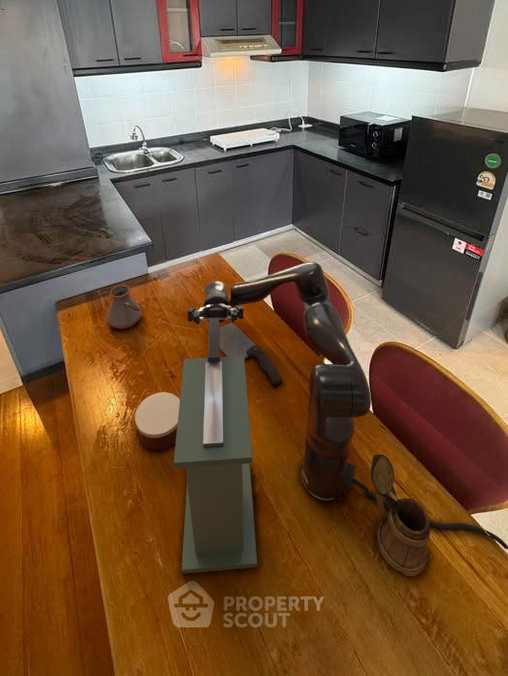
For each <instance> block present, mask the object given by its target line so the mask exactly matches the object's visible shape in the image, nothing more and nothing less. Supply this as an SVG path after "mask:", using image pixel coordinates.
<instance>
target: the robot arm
mask: <svg viewBox="0 0 508 676" xmlns="http://www.w3.org/2000/svg"><path fill="white" fill-rule="evenodd" d="M288 283H293V284H294V287H295V290H296V291H297V295H298V298H299V299H300V302H301V303H302V305H303V308H304V312H303V315H302V324H303V329H304V334H305V338H306V340H307V342H308V344H309V345H310V346H311V347H312V349H314V350H315V351H316V353H319V355H320V356H322V357H323V358H324V359H325V360H327V361H328V362H330V363H317V364H315V365H313V367H312V369H311V371H310V376H309V394H308V395H309V398H308V400H309V401H308V410H307V422H306V423H307V424H306V433H305V441H304V451H303V460H302V467H301V482H302V485H303V487H304V489H305V490H306V492H307V493H308V494H309V495H310V496H311V497H313V498H315V500H317V501H320V502H333V501H338V502H340V501H341V500H342V495H343V494H345V495H348V496H351V493H352V488H353V484H354V486H355V485H356V486H357V487H359V488H360V489H361V490H363V491H364V493H365V494H366V495H367V496H368V497H369V498H371V499H372V500H374V501H376V502H377V500H376V494H375V493H373V492H371V491H370V489H369V488H368V487H367V486H366V485H365V484H363V483H362V482H360V481H359V480H357V479H356V478H354V477H355V472H356V465H354V464H352V463H350V462H349V459H350V455H351V454H350V453H351V447H352V442H353V438H354V434H355V433H354V432H355V424H354V423H355V422H354V420H353V419H354V418H361V417H362V418H363V417H365V416H366V415H367V414H369V412H370V409H371V406H372V397H371V390H370V385H369V382H368V379H367V377H366V374H365V372H364V369H363V367H362V365H361V364H360V361H359V359H358V358H357V356H356V354H355V352H354V350H353V348H352V347H351V344H350V342H349V339H348V337H347V333H346V331H345V327H344V324H343V321H342V319H341V316H340V314H339V312H338V310H337V308H336V307H335V306H334V305H333V304H332V303H331V297H330V290H329V286H328V285H329V284H328V282H327V279H326V277H325V274H324V271H323V268H322V265H320V264H319V263H318V262H314V261H310V262H303V263H301V264H297V265H294V266H291V267H288V268H286V269H282V270H280V271H277V272H274V273H271V274H269V275H267V276H262V277H259V278H256V279H250V280H245V281H239V282H235V283H233V284H232V285H231V287H230V298H229V295H228V291H227V286H226V284H225V283H224V282H223V281H220V280H214V281H211V282H209V283H208V284H206V286H205V287H204V289H203V290H204V291H203V292H204V296H205V298H204V301H203V305H202V307H201V306H200V307H199V309H197V308H196V307H195V306H191V307H189V308H188V309H187V311H186V312H187V322H189V323H190V322H191V323H192V322H193V323H195V324H196V325H200V323H201V322H209V318H219V324H221V323H223V322H225V321H230V320H231V321H230V322H232V323H235V321H238V319H239V320H243V319H245V316H244V310H245V309H244V307H243V306H242V305H250V304H256V303H259V302H261V301H263V300H265V299H266V298H267V297H269V296H270V295H271V294H272V293H273V292H274V291H275V290H277V289H278V288H279V287H280V286H282V285H284V284H288ZM384 502H385V504H386V506H388V505H387V503H386V501H384ZM429 523H430V527H433V528H436V529H441V530H468V531H472V532H475V533H479V534H481V535H484V536H487V537H489V536H488V535H487V533H488V534H489V535H490V537H491V539H492V540H494V541H495V542H497V543H498V544H499V545H501V546H502V548H503V549H505V550H508V545H507V543H506V542H505V541H504V540H503V539H502V538H501V537H500V536H498V535H496V534H494V532H491V531H489V530H487V529H484V528H483V527H482V528H481V527H479V526H475V525H472V524H469V523H463V522H455V523H441V522H436V521H433V520H430V519H429ZM483 529H484V530H485V531H486V532H487V533H485V531H484V530H483ZM490 537H489V538H490Z"/></svg>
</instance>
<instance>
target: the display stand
mask: <svg viewBox="0 0 508 676" xmlns="http://www.w3.org/2000/svg"><path fill="white" fill-rule="evenodd" d="M245 360H246V359H245ZM245 360H244V356H234V357H227V356H220V362H221V361H222V375H223V439H224V446H219V447H205V448H204V447H203V427H204V397H205V368H206V362H208V357H199V358H184V359H183V365H182V375H181V384H180V393H179V394H180V395H179V400H180V404H179V414H178V424H177V434H176V443H174V444H175V446H174V457H173V468H174V469H175V470H177V469H178V470H179V469H185V475H186V476H185V477H186V493H185V495H186V497H185V508H184V509H185V512H184V523H183V524H184V525H183V526H184V527H183V541H182V555H181V556H182V557H181V574H182V575H185V574H194V573H195V574H196V573H207V572H216V571H217V572H218V571H231V570H240V569H242V570H243V569H251V568H252V569H253V568H258V557H257V543H256V530H255V516H254V503H253V501H254V500H253V490H252V476H251V464H253V446H252V445H253V444H252V435H251V423H250V411H249V397H248V386H247V384H248V383H247V374H246V373H247V371H246V362H245Z"/></svg>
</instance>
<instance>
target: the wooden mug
mask: <svg viewBox="0 0 508 676" xmlns="http://www.w3.org/2000/svg"><path fill="white" fill-rule="evenodd" d="M370 479H371V482H372V484H373V487H374V489H375V491H376V493H375V495H376V500H377V501H376V500H375V501H376V503H377V507H378V509H379V512H380V515H381V521H380V523H378V526H377V531H376V543H377V548H378V551H379V552H380V554H381V556H382V558H383V560H384V561H385V562H386V563H387V564H388V565H389V566H390V567H391V568H392V569H393V570H395V571H397V573H400V574H401V575H404V576H406V577H416V576H418V575H419V574H420V573H422V572H423V571H424V569H425V567H426V564H427V559H428V550H427V548H428V541H429V539H430V536H431V526H430V523H429V520H430V519H429V515H428V513H427V511H426V509H425V508H424V507H423V506H422V505H421V504H420V503H419V502H418V501H416V499H413V498H410V497H409V498H408V497H407V498H406V497H403V498H399V497H398V495H397V492H396V490H395V487H394V483H395V470H394V467H393V464H392V462H391V461H390V459H389V458H388V456H387V455H385V454H381V453H380V454H373V456H372V459H371V464H370ZM384 501H386V503H387V505H386V504H385V502H384Z"/></svg>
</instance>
